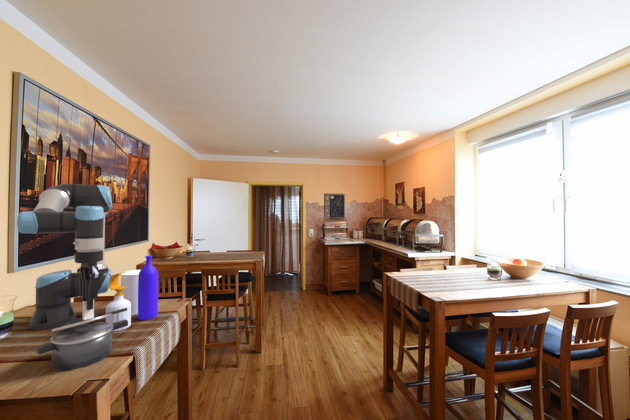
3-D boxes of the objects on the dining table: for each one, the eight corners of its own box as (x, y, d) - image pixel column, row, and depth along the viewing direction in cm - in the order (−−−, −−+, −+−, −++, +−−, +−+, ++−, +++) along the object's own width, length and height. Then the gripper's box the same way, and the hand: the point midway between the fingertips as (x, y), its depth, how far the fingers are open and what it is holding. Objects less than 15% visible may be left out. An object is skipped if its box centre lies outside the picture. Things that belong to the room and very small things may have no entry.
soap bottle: (117, 333, 112) (118, 275, 113) (100, 331, 114) (100, 274, 114) (135, 324, 121) (136, 270, 121) (119, 322, 123) (119, 269, 123)
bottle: (154, 312, 135) (154, 254, 135) (160, 316, 130) (161, 255, 130) (135, 317, 129) (135, 256, 129) (141, 322, 123) (142, 257, 124)
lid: (43, 334, 91) (43, 328, 91) (115, 313, 110) (115, 309, 110) (61, 330, 83) (61, 324, 83) (136, 309, 101) (135, 304, 102)
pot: (29, 366, 88) (29, 339, 88) (116, 336, 109) (116, 314, 109) (46, 382, 79) (47, 352, 79) (137, 346, 101) (137, 323, 101)
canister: (118, 309, 139) (119, 271, 139) (148, 304, 148) (149, 268, 148) (122, 317, 129) (122, 276, 129) (154, 310, 138) (154, 272, 138)
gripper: (67, 250, 92) (66, 318, 92) (83, 253, 85) (82, 326, 85) (94, 247, 99) (93, 311, 98) (110, 250, 92) (109, 318, 92)
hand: (88, 318), depth 92 cm, fingers closed
